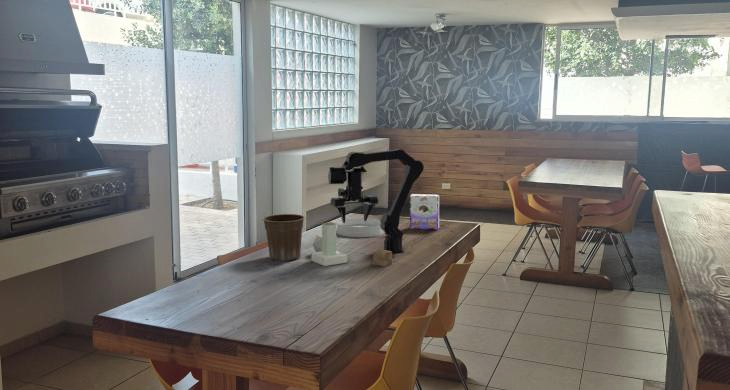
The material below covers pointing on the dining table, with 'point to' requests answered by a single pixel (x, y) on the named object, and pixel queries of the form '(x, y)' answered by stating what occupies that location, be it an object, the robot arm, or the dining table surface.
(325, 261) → the slab
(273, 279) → the dining table surface
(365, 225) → the dish
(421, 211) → the candy box
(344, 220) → the robot arm
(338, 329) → the dining table surface
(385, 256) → the walnut cube
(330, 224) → the tea tin
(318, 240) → the die
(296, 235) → the plant pot
